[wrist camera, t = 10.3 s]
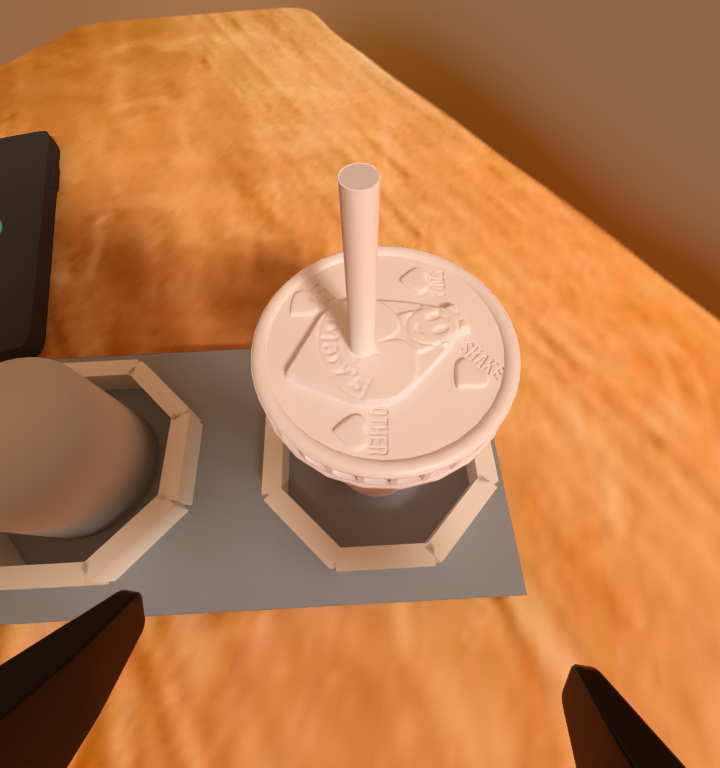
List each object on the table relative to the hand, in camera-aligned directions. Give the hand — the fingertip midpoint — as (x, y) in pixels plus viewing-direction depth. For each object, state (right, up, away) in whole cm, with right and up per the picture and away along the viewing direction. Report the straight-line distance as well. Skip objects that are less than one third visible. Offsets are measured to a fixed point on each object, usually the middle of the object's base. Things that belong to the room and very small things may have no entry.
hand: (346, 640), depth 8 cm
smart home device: (-24, +14, +18) cm, 33 cm away
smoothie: (+1, +2, +10) cm, 10 cm away
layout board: (-5, +1, +11) cm, 12 cm away
